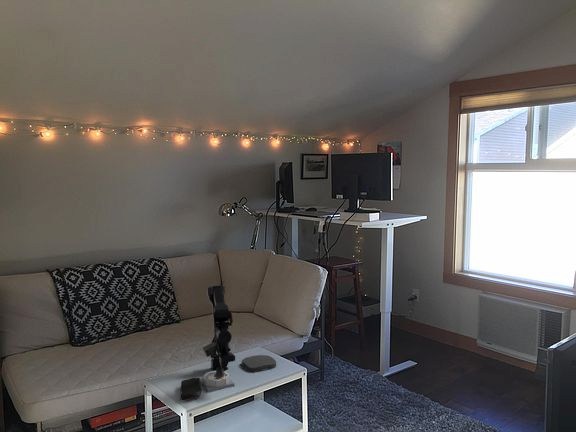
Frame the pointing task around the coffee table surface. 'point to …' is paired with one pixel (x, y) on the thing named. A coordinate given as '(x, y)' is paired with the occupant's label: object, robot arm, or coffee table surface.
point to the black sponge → (190, 389)
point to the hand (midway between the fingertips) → (223, 371)
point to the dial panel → (216, 382)
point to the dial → (217, 374)
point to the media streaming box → (258, 363)
